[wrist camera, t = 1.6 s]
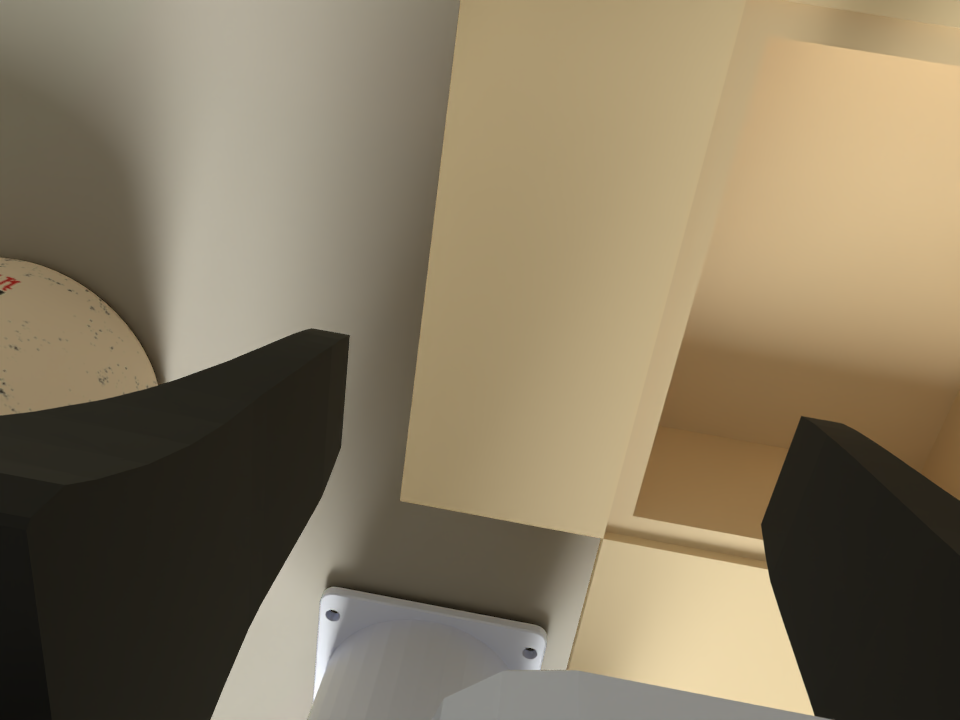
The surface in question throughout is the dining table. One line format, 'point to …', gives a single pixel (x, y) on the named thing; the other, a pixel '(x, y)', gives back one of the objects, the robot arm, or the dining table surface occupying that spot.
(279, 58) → the dining table surface
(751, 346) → the carton
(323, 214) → the dining table surface
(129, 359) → the teacup with lid
